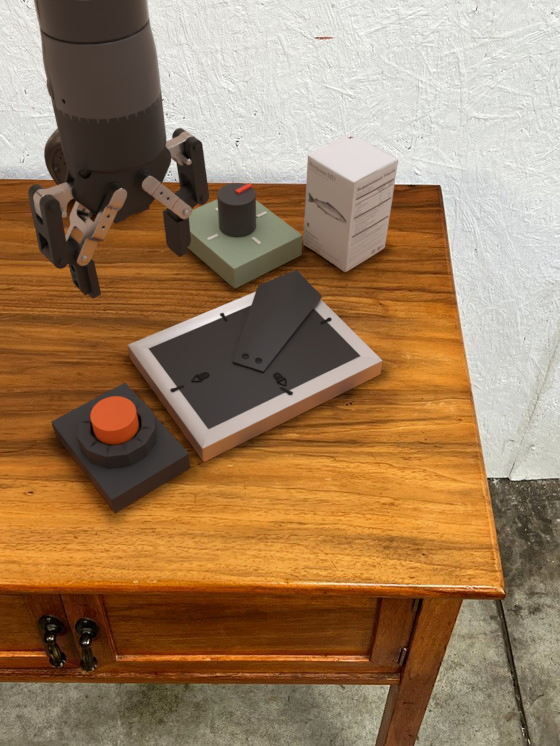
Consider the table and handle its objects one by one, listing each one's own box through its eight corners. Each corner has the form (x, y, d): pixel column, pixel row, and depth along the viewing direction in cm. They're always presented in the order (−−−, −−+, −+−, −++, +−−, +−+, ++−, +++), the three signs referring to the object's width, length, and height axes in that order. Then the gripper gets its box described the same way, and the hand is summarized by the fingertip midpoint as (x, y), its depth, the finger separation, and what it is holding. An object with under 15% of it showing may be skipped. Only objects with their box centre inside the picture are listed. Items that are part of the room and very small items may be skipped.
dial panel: (176, 238, 95) (173, 216, 92) (241, 208, 99) (241, 187, 97) (234, 289, 88) (233, 267, 86) (301, 255, 93) (302, 233, 90)
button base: (55, 436, 74) (46, 409, 71) (128, 396, 77) (122, 369, 74) (115, 513, 68) (108, 488, 65) (190, 467, 72) (187, 441, 69)
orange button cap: (85, 424, 70) (81, 410, 69) (124, 403, 72) (121, 389, 70) (108, 452, 68) (104, 438, 67) (147, 430, 70) (144, 416, 68)
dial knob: (236, 242, 89) (234, 207, 86) (211, 225, 91) (209, 190, 88) (263, 226, 91) (263, 191, 88) (239, 210, 94) (237, 175, 90)
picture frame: (295, 288, 89) (130, 358, 81) (296, 269, 86) (126, 339, 79) (380, 374, 80) (203, 462, 72) (383, 355, 78) (201, 443, 70)
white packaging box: (300, 245, 94) (304, 153, 85) (343, 221, 97) (352, 130, 88) (344, 275, 90) (353, 182, 81) (387, 249, 94) (400, 156, 84)
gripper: (38, 144, 48) (84, 332, 60) (221, 76, 54) (230, 259, 66) (-16, 98, 52) (37, 283, 64) (161, 40, 58) (179, 218, 70)
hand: (135, 271), depth 65 cm, fingers open, 8 cm apart
